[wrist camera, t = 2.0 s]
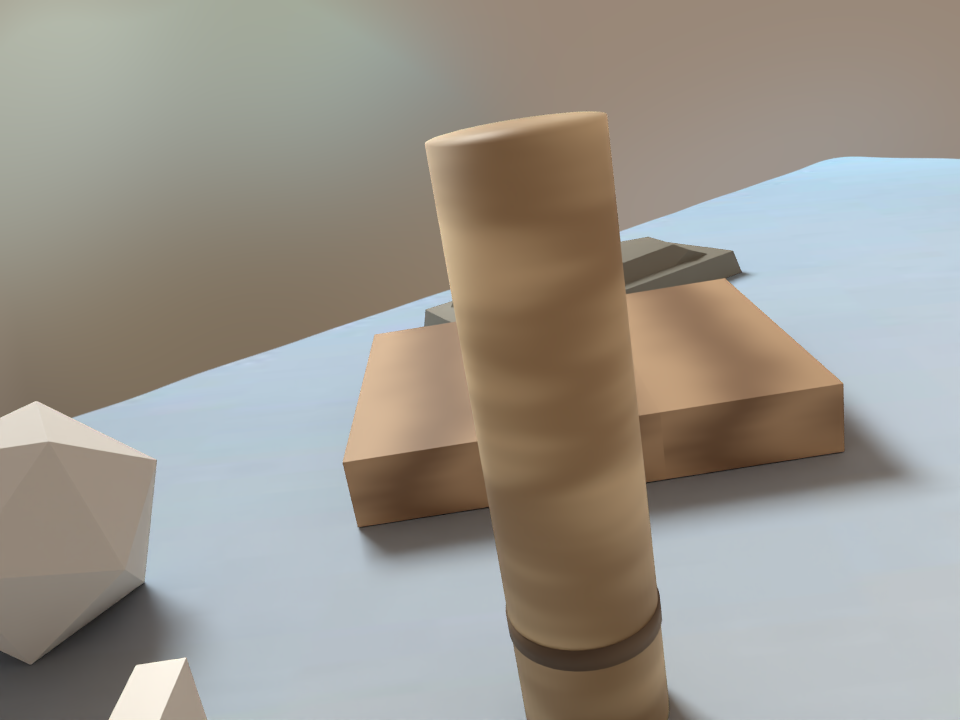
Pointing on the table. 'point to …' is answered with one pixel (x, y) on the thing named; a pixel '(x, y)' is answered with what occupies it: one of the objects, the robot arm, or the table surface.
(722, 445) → the board
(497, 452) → the oak leg
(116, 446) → the die
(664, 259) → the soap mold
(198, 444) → the table surface
